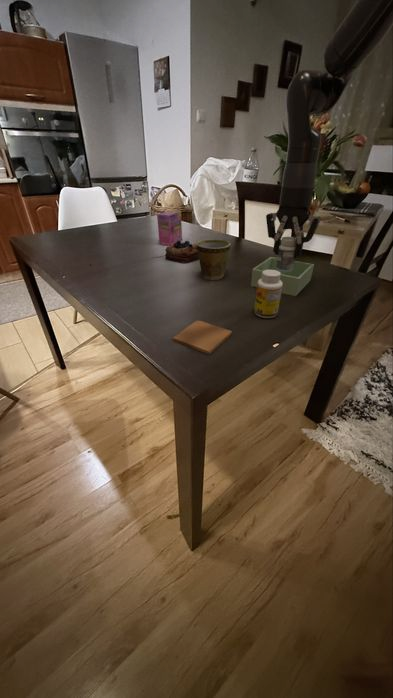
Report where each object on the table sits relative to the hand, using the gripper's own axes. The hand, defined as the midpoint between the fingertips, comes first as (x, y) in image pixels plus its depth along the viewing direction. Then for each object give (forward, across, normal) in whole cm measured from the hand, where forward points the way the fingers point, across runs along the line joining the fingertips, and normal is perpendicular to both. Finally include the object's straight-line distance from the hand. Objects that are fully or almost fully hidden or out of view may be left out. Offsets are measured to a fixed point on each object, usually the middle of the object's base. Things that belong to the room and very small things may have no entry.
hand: (286, 255), depth 78 cm
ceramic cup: (+8, +21, +5) cm, 23 cm away
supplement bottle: (+9, -4, +20) cm, 22 cm away
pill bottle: (+4, 0, 0) cm, 4 cm away
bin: (+8, 0, 0) cm, 8 cm away
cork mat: (+8, +3, +37) cm, 38 cm away
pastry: (+8, +39, -4) cm, 40 cm away
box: (+8, +56, -18) cm, 60 cm away
